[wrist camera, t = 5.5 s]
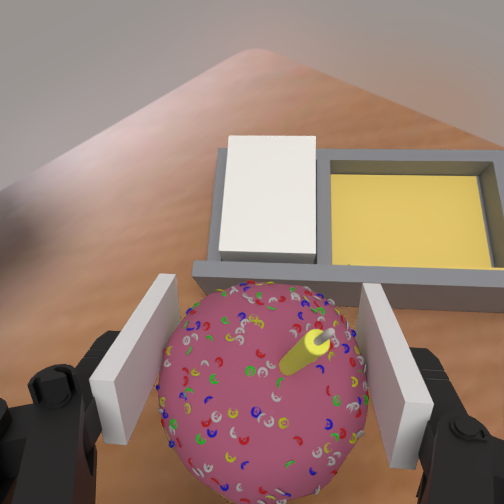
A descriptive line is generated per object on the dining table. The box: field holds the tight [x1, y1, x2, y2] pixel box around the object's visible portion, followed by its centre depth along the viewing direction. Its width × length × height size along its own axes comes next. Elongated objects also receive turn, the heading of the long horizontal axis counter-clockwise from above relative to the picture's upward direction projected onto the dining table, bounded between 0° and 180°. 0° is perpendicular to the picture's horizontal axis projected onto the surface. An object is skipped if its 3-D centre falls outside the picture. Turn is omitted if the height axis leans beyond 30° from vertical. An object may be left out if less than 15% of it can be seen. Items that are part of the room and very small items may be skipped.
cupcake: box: [156, 280, 369, 504], centre depth 14 cm, size 9×8×12 cm
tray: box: [192, 148, 504, 313], centre depth 31 cm, size 26×14×8 cm, turn 87°
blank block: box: [219, 136, 316, 264], centre depth 31 cm, size 7×10×7 cm
